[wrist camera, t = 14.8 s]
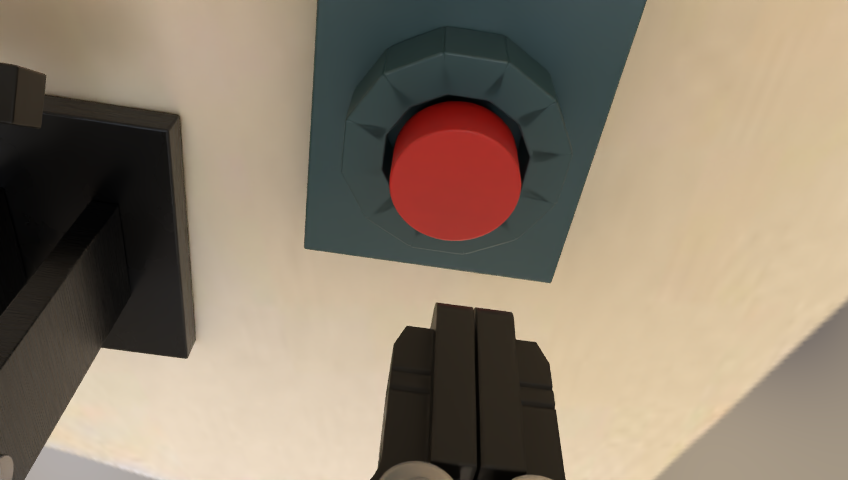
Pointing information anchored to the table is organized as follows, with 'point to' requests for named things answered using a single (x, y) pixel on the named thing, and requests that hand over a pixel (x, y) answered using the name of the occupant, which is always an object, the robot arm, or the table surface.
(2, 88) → the lever
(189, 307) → the bracket
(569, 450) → the table surface
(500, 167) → the button
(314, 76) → the button box
